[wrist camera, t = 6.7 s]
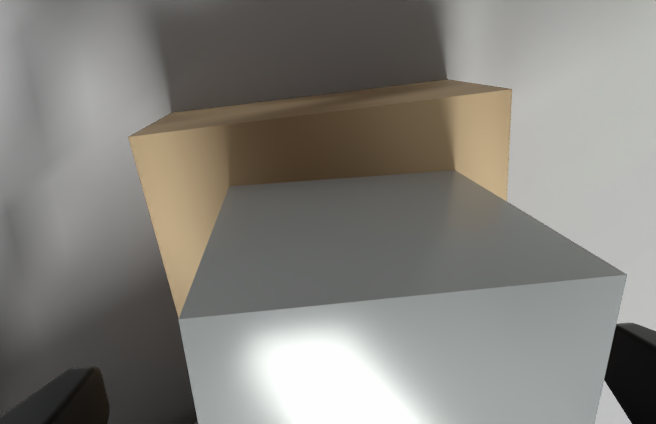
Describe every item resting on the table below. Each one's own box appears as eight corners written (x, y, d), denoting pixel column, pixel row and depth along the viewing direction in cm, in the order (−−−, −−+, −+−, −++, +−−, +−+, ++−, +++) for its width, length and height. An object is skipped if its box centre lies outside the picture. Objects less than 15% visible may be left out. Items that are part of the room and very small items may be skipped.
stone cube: (454, 170, 10) (626, 275, 5) (444, 354, 11) (563, 563, 7) (229, 186, 9) (178, 319, 4) (253, 375, 11) (235, 617, 6)
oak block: (443, 78, 13) (512, 89, 9) (445, 304, 16) (497, 383, 12) (173, 111, 12) (128, 136, 8) (226, 339, 15) (210, 433, 11)
